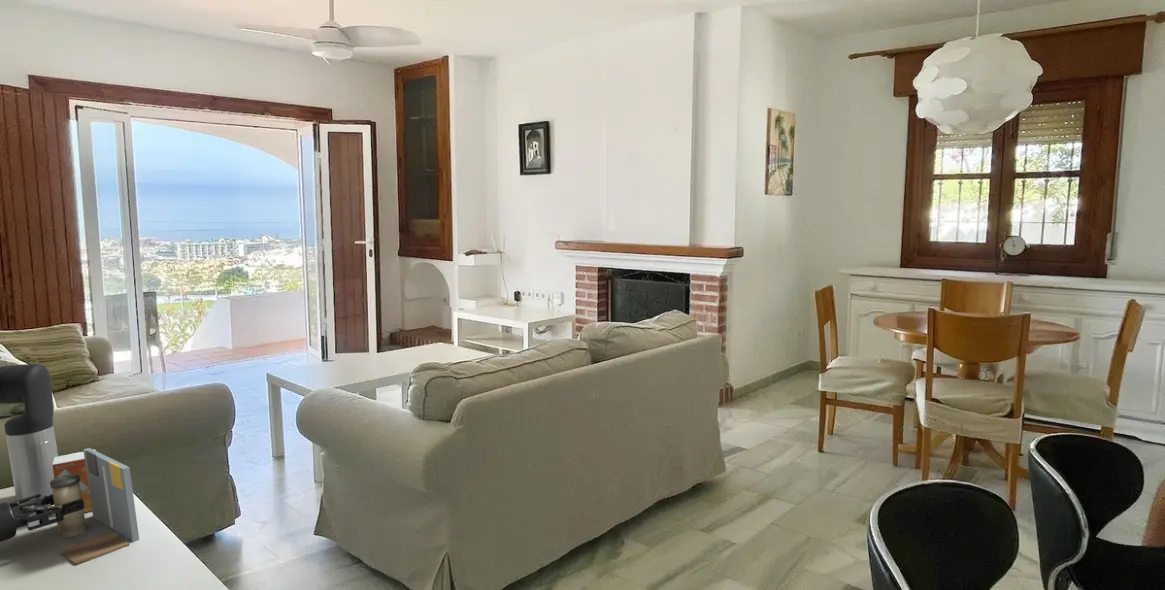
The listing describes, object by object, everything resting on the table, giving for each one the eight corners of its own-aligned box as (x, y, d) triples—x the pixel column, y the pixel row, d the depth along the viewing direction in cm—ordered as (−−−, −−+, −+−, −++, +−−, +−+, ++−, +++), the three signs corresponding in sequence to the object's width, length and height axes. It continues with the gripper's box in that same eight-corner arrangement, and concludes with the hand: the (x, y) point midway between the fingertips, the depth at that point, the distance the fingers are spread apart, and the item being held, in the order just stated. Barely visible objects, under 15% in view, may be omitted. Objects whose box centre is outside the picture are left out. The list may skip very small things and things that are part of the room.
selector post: (54, 533, 153) (46, 480, 152) (82, 524, 157) (74, 472, 156) (63, 539, 150) (54, 485, 148) (91, 530, 154) (83, 477, 153)
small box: (59, 519, 160) (51, 464, 159) (61, 509, 166) (53, 456, 164) (102, 509, 165) (94, 456, 163) (102, 500, 170) (95, 448, 168)
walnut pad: (58, 551, 145) (58, 549, 145) (110, 532, 152) (110, 531, 152) (76, 565, 139) (76, 563, 139) (129, 545, 146) (129, 543, 146)
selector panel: (91, 517, 161) (81, 448, 159) (98, 514, 162) (89, 446, 160) (131, 542, 148) (121, 468, 145) (139, 539, 149) (129, 465, 147)
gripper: (-11, 519, 136) (86, 489, 149) (-31, 502, 145) (62, 475, 158) (-5, 555, 137) (91, 523, 150) (-25, 536, 146) (67, 507, 159)
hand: (76, 498), depth 154 cm, fingers open, 8 cm apart
